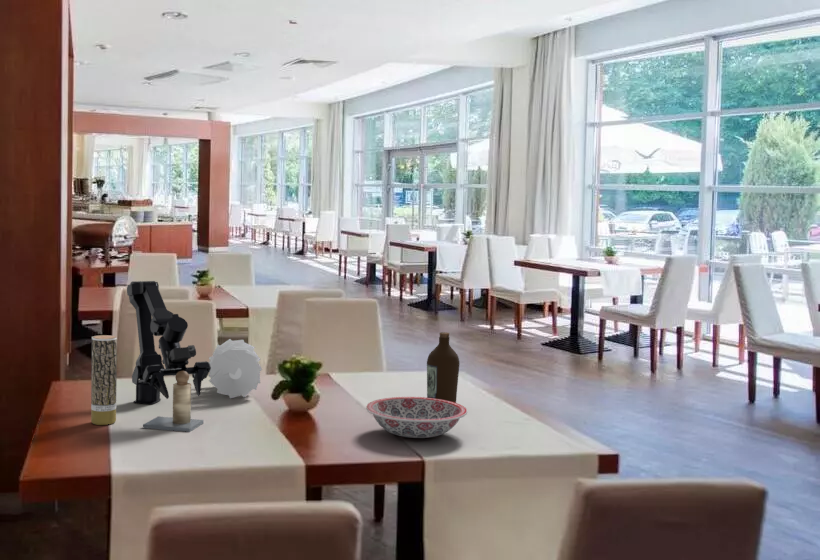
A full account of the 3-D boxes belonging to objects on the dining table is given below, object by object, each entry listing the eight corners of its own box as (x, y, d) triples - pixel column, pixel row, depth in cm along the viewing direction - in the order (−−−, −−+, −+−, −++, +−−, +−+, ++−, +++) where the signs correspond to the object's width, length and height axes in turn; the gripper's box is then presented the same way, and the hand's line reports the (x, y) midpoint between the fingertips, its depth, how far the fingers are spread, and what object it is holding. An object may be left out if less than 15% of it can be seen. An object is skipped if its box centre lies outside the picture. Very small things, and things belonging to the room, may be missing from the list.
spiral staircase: (245, 396, 316) (248, 409, 291) (199, 375, 312) (198, 386, 287) (268, 350, 317) (273, 359, 292) (223, 328, 313) (224, 335, 289)
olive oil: (448, 404, 298) (452, 330, 296) (463, 411, 288) (466, 335, 286) (419, 405, 294) (422, 330, 292) (433, 413, 284) (436, 335, 282)
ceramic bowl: (392, 453, 237) (393, 424, 237) (349, 427, 263) (350, 400, 262) (485, 443, 251) (486, 415, 250) (435, 419, 277) (436, 393, 276)
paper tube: (121, 422, 259) (122, 336, 256) (104, 427, 252) (104, 339, 250) (103, 418, 261) (104, 334, 259) (85, 423, 255) (86, 337, 253)
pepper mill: (169, 421, 257) (169, 370, 256) (183, 418, 261) (184, 368, 260) (179, 424, 254) (180, 373, 253) (194, 421, 258) (194, 370, 257)
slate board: (142, 428, 253) (142, 424, 253) (158, 419, 263) (158, 416, 263) (189, 431, 251) (189, 428, 251) (203, 423, 261) (203, 420, 260)
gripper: (146, 337, 253) (158, 383, 245) (209, 334, 264) (222, 378, 255) (137, 360, 261) (148, 405, 252) (199, 356, 271) (211, 399, 263)
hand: (183, 396), depth 256 cm, fingers open, 9 cm apart
